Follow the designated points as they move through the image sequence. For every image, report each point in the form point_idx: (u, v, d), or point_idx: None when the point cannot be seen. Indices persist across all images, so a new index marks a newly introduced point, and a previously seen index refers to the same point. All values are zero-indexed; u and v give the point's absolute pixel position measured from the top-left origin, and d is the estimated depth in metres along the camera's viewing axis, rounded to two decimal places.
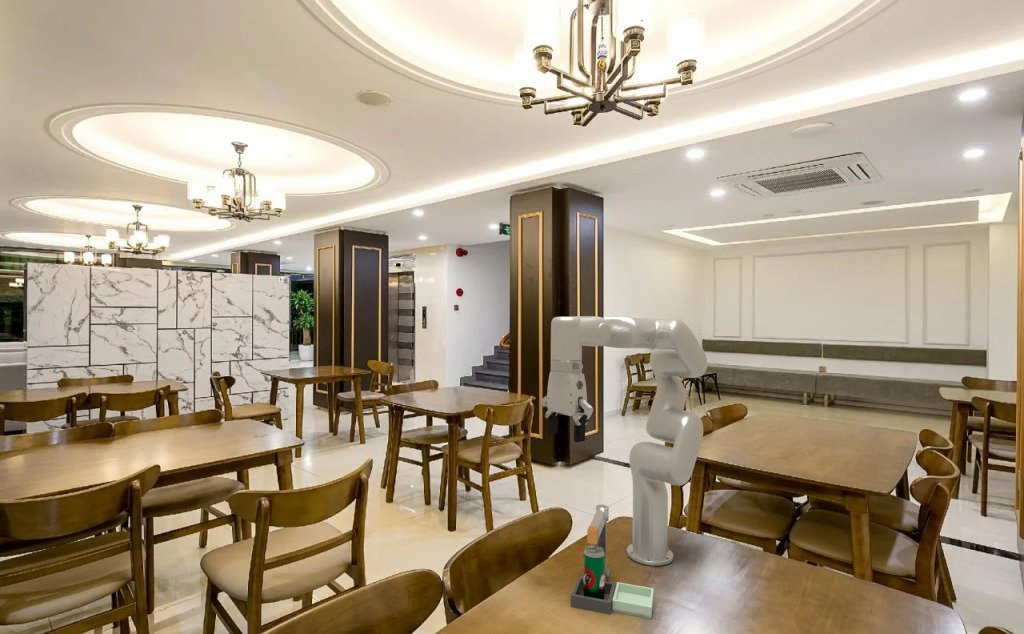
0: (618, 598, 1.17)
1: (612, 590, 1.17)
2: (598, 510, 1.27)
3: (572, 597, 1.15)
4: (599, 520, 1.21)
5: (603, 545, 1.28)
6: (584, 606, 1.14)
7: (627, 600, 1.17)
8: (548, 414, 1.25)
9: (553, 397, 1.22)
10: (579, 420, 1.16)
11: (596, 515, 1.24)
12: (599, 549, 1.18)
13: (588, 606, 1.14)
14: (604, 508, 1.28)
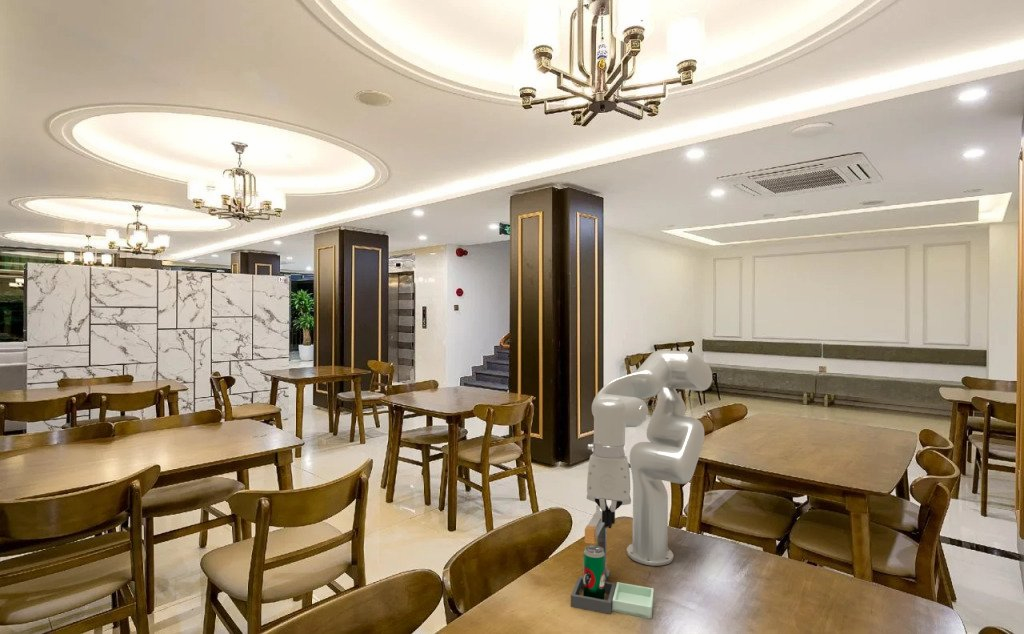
0: (618, 598, 1.17)
1: (612, 590, 1.17)
2: (598, 510, 1.27)
3: (572, 597, 1.15)
4: (597, 520, 1.21)
5: (603, 545, 1.28)
6: (584, 606, 1.14)
7: (627, 600, 1.17)
8: None
9: None
10: None
11: (595, 515, 1.24)
12: (599, 549, 1.18)
13: (588, 606, 1.14)
14: None
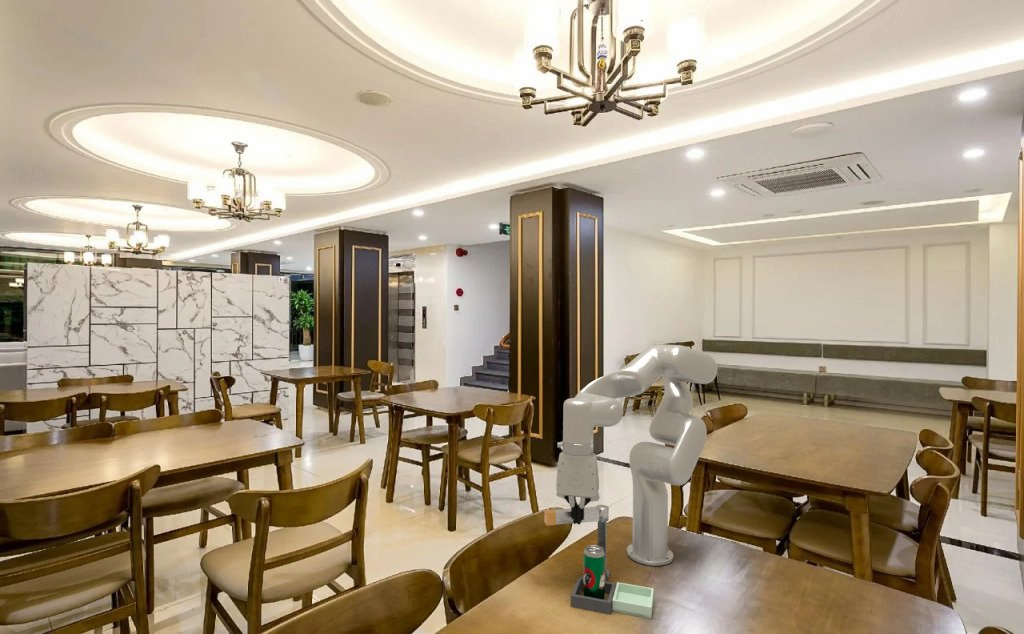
0: (618, 598, 1.17)
1: (612, 590, 1.17)
2: (593, 507, 1.29)
3: (572, 597, 1.15)
4: None
5: (603, 545, 1.28)
6: (584, 606, 1.14)
7: (627, 600, 1.17)
8: None
9: None
10: None
11: None
12: (599, 549, 1.18)
13: (588, 606, 1.14)
14: (600, 508, 1.29)
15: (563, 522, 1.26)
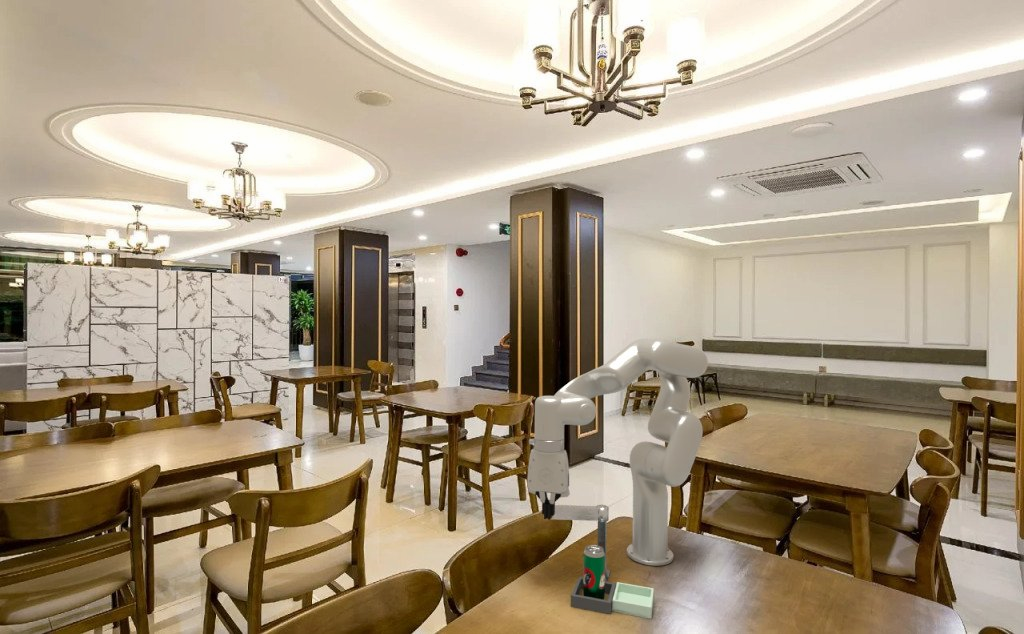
0: (618, 598, 1.17)
1: (612, 590, 1.17)
2: (593, 506, 1.30)
3: (572, 597, 1.15)
4: (568, 507, 1.29)
5: (603, 545, 1.28)
6: (584, 606, 1.14)
7: (627, 600, 1.17)
8: None
9: None
10: None
11: (579, 506, 1.30)
12: (599, 549, 1.18)
13: (588, 606, 1.14)
14: (599, 507, 1.29)
15: (560, 518, 1.29)
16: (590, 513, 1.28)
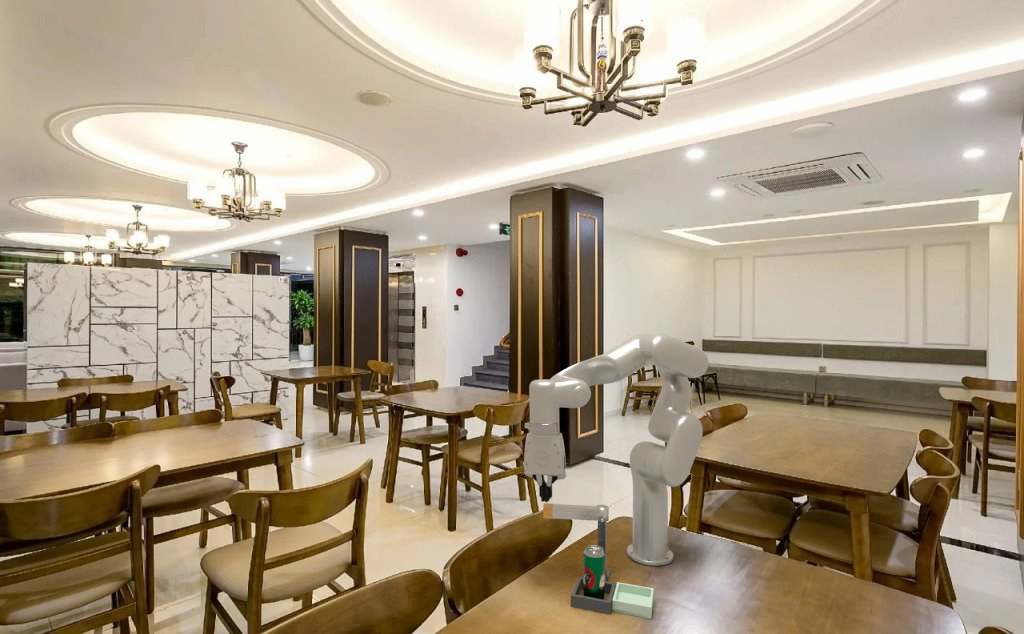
0: (618, 598, 1.17)
1: (612, 590, 1.17)
2: (593, 506, 1.30)
3: (572, 597, 1.15)
4: (568, 507, 1.30)
5: (603, 545, 1.28)
6: (584, 606, 1.14)
7: (627, 600, 1.17)
8: None
9: None
10: None
11: (579, 505, 1.31)
12: (599, 549, 1.18)
13: (588, 606, 1.14)
14: (599, 507, 1.29)
15: (560, 517, 1.29)
16: (590, 513, 1.29)
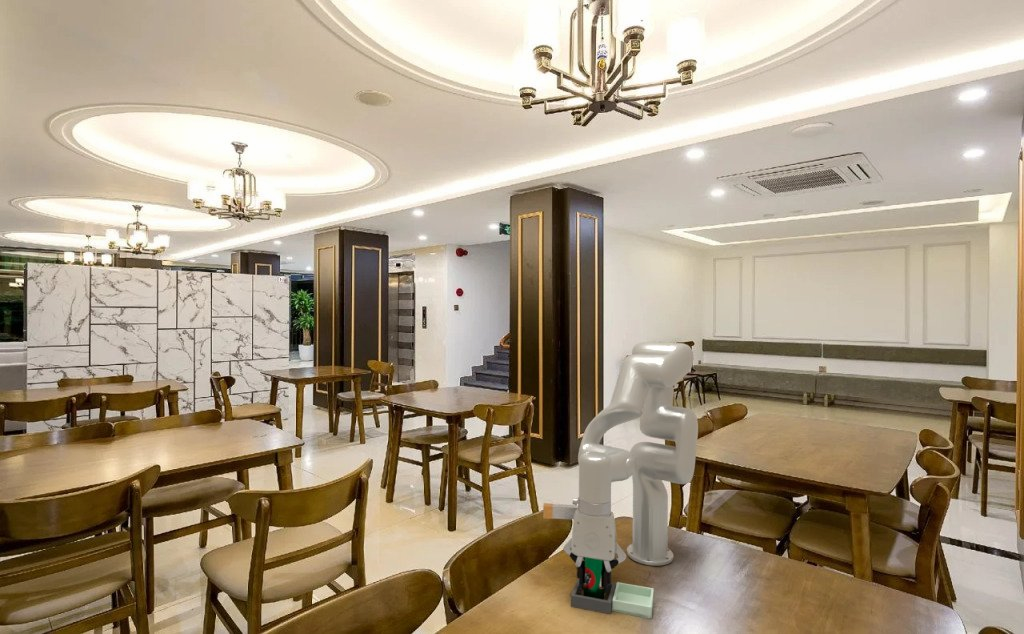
0: (618, 598, 1.17)
1: (612, 590, 1.17)
2: None
3: (572, 597, 1.15)
4: (568, 507, 1.30)
5: None
6: (584, 606, 1.14)
7: (627, 600, 1.17)
8: None
9: None
10: None
11: None
12: None
13: (588, 606, 1.14)
14: None
15: (560, 517, 1.29)
16: None
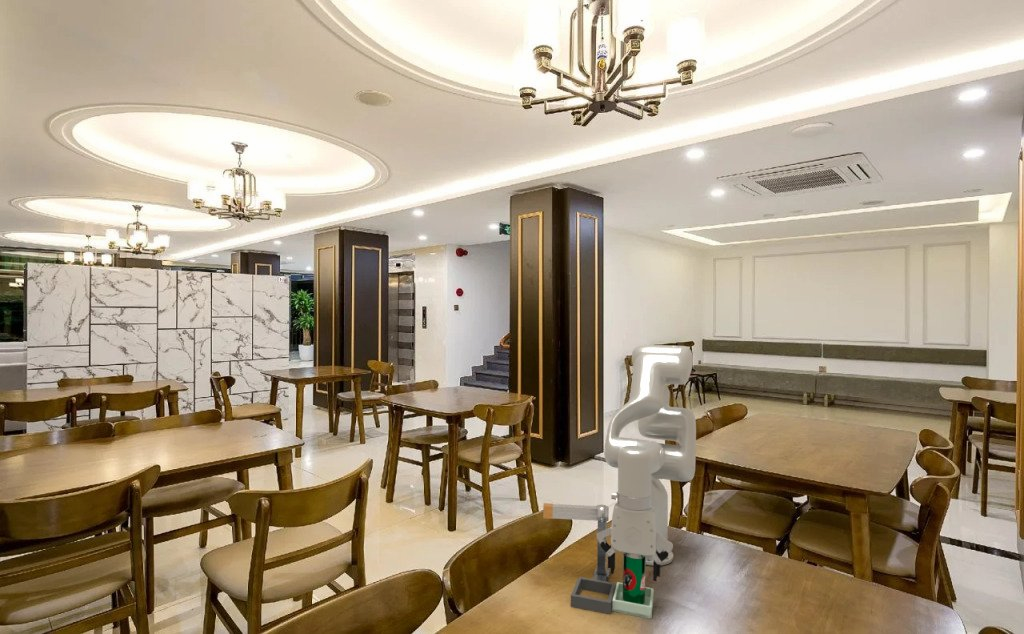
0: (618, 598, 1.17)
1: (612, 590, 1.17)
2: (593, 506, 1.30)
3: (572, 597, 1.15)
4: (568, 507, 1.30)
5: None
6: (584, 606, 1.14)
7: None
8: None
9: None
10: None
11: (579, 505, 1.31)
12: None
13: (588, 606, 1.14)
14: (599, 507, 1.29)
15: (560, 517, 1.29)
16: (590, 513, 1.29)
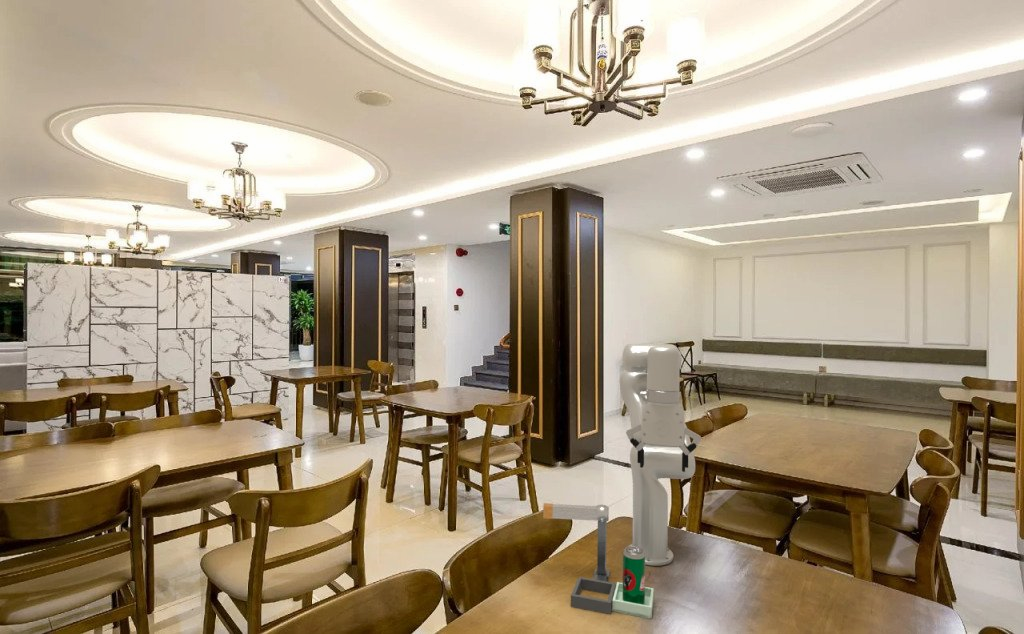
0: (618, 598, 1.17)
1: (612, 590, 1.17)
2: (593, 506, 1.30)
3: (572, 597, 1.15)
4: (568, 507, 1.30)
5: (603, 545, 1.28)
6: (584, 606, 1.14)
7: None
8: None
9: None
10: None
11: (579, 505, 1.31)
12: (639, 550, 1.16)
13: (588, 606, 1.14)
14: (599, 507, 1.29)
15: (560, 517, 1.29)
16: (590, 513, 1.29)
